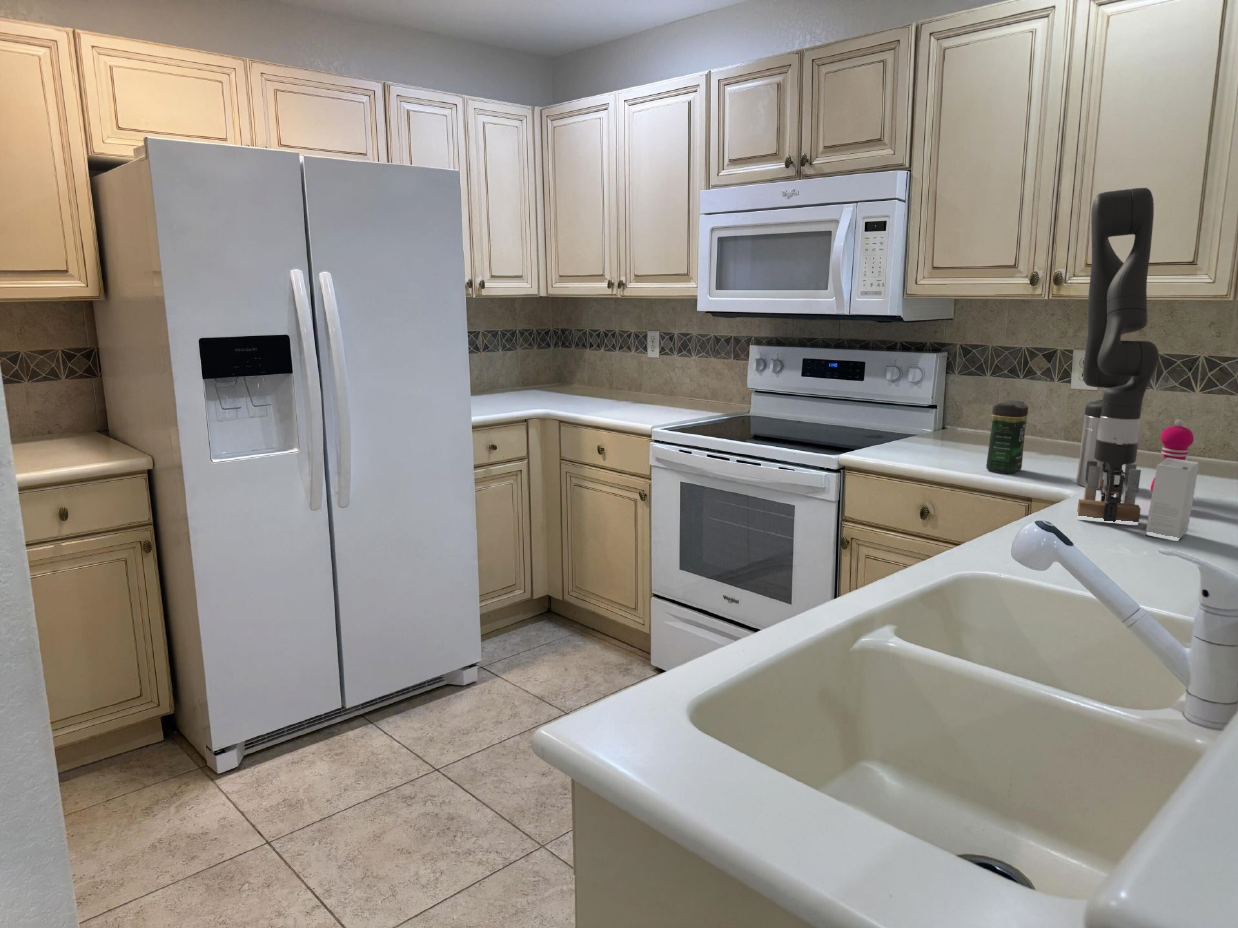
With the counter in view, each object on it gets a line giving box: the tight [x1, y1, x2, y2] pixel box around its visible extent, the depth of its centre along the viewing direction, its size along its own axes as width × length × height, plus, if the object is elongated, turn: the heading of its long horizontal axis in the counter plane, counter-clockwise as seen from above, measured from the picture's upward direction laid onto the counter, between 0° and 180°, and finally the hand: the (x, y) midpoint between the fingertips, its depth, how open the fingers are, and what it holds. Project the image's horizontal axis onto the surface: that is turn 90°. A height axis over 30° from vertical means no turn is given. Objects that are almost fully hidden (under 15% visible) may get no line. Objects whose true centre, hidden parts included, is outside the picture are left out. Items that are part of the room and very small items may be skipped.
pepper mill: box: [1150, 418, 1195, 493], centre depth 189 cm, size 7×7×20 cm
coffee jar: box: [985, 400, 1029, 474], centre depth 226 cm, size 10×8×19 cm
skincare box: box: [1145, 458, 1200, 538], centre depth 169 cm, size 8×6×15 cm
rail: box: [1076, 498, 1141, 523], centre depth 181 cm, size 4×11×4 cm, turn 66°
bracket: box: [1083, 460, 1142, 505], centre depth 187 cm, size 7×10×10 cm
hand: (1107, 516), depth 181 cm, fingers open, 6 cm apart
